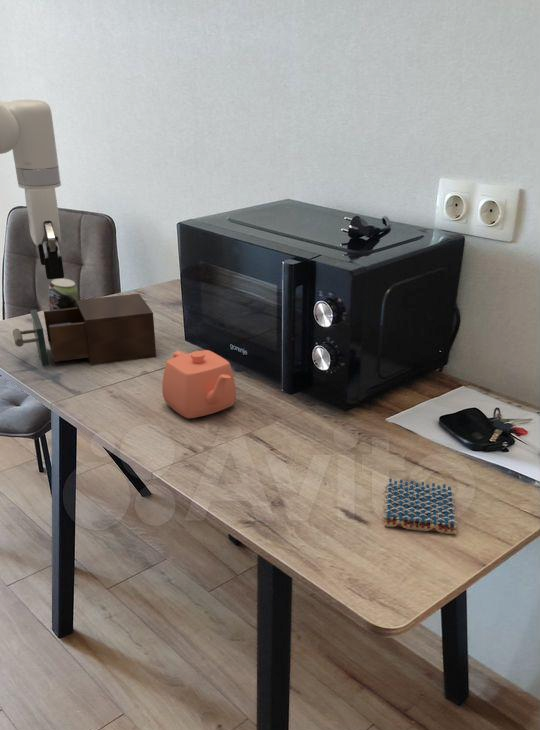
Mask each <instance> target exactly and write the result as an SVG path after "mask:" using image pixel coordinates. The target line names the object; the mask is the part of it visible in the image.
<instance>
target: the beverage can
mask: <svg viewBox="0 0 540 730" xmlns="http://www.w3.org/2000/svg"><path fill="white" fill-rule="evenodd" d="M78 291H79V290H78V287H77V285H76V282H75V281H74V280H72V279H69V278H59V279H51V283H50V284H49V286H48V310H56V309H65V308H75V307H76V300H78V297H79V295H78V294H79V293H78Z"/></svg>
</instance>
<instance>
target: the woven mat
mask: <svg viewBox="0 0 540 730" xmlns="http://www.w3.org/2000/svg"><path fill="white" fill-rule="evenodd" d="M403 480H404V479H400V480H399V483H398V481H397V480H394V483H393V482H392V481H393V478H388V482H387V483H386V484H385V485H384V489H385V493H384V494H383V496H384V498H385V499H384V503H383V504H382V510H383V511H384V513H383V515H382V519H383V520H384V524H383V525H384V526H383V527H389V528H390V527H391V528H395V527H396V526H397V527H402V528H403V529H406V530H410V531H411V530H412V531H420V532H430V531H434V532H438V533H441V534H447V535H455V536H456V535H457V531H458V530H457V529H455V528H457V527H458V522H459V521H457V519H456V518H457V515H456V514H457V511H456V501H455V498H454V496H455V493H454V490H453V489H452V487H451V486H448V487H447V488H446V486H447V485H446V483H444V484H442V488H441V485H437V486H436V483H435V482H432V484H431V486H430V484H429V483H426V485H425V481H421V484H420V486H419V483H418V482H416V483H415V485H414V480H410V484H409V482H408V481H405V482H404V481H403ZM403 482H404V484H403Z"/></svg>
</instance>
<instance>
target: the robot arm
mask: <svg viewBox="0 0 540 730" xmlns="http://www.w3.org/2000/svg"><path fill="white" fill-rule="evenodd" d="M52 114H53V113H52V108H51V107H50V105H49V104H48V103H47V102H46V101H45V100H39V99H15V100H12V101H3V100H2V101H1V100H0V155H2V154H7V153H9V152H10V151H12V155H13V161H14V167H15V174H16V181H17V186H18V187H19V188H21V189H23V190H24V197H25V205H26V210H27V211H26V213H27V219H28V226H29V234H30V238H31V240H32V242H33V244H34V245H35V246H37V248H38V254H39V262H40V264H41V265H42V266H44V269H45V275H46V279H47V280H53V279H59V278H63V279H65V272H64V266H63V265H64V264H63V257H62V255H61V251H60V246H59V244H60V243H61V242H62V237H61V236H62V234H61V225H60V215H59V206H58V200H57V193H56V188H59V187H61V186H62V182H61V175H60V174H61V173H60V167H59V159H58V152H57V143H56V136H55V135H56V134H55V129H54V121H53V115H52Z"/></svg>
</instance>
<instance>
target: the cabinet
mask: <svg viewBox="0 0 540 730" xmlns="http://www.w3.org/2000/svg"><path fill="white" fill-rule="evenodd" d="M76 307H78V309H79V311H80V313H81V315H82V317H83V319H84V321H85V326H86V334H87V341H88V349H89V357H88V358H87V359H88V361H89V364H90V366H95V365H96V366H97V365H103V364H110V363H111V364H112V363H117V362H118V363H119V362H127V361H132V360H134V361H135V360H141V359H148V358H149V359H150V358H155V357H157V348H156V347H157V346H156V334H155V322H154V311H152V309H151V308H150V306H149V305H148V303H146V301H145V300H144V298H143V297H142V295H141V294H140V293H132V294H123V295H112V296H104V297H101V296H100V297H94V298H93V297H92V298H83V299H77V300H76Z"/></svg>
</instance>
